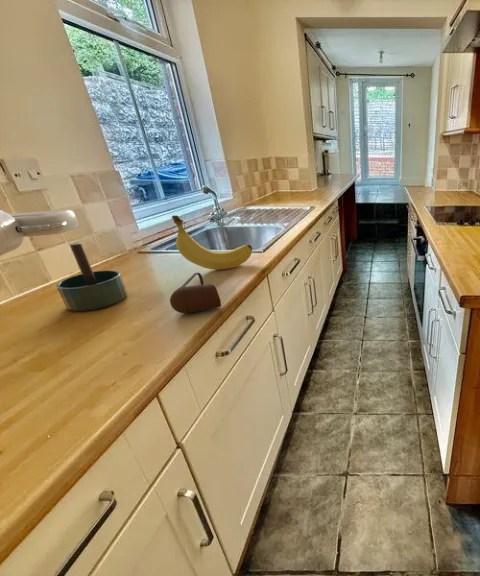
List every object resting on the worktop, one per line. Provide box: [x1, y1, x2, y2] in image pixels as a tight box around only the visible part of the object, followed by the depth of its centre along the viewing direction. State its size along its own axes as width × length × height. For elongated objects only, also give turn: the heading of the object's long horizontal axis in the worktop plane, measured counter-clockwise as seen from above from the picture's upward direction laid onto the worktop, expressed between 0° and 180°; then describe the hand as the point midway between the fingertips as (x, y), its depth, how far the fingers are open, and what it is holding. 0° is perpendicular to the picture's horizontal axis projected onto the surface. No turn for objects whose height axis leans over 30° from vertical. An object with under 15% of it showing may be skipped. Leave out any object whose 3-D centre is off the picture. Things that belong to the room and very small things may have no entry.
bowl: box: [55, 269, 128, 312], centre depth 88 cm, size 13×13×7 cm
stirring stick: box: [69, 242, 97, 286], centre depth 86 cm, size 2×2×16 cm
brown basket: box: [169, 272, 222, 314], centre depth 87 cm, size 18×12×7 cm, turn 23°
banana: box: [171, 215, 253, 270], centre depth 109 cm, size 23×6×20 cm, turn 122°
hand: (30, 217), depth 68 cm, fingers open, 8 cm apart
